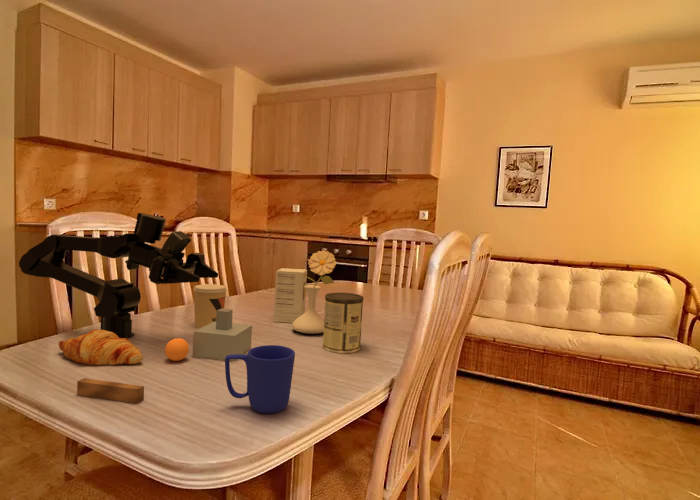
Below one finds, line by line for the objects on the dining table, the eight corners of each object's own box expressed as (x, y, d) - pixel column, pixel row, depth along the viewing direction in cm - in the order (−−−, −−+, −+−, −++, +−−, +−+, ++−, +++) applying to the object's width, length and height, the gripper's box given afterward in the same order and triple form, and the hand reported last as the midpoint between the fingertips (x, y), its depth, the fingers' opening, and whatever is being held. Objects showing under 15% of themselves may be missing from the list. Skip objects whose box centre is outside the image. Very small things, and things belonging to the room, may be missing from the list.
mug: (228, 396, 76) (230, 343, 75) (293, 397, 77) (296, 345, 76) (217, 417, 68) (220, 358, 67) (290, 418, 69) (293, 360, 68)
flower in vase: (283, 332, 120) (288, 248, 119) (302, 324, 131) (306, 247, 129) (323, 340, 115) (328, 252, 114) (339, 331, 126) (344, 250, 124)
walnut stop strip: (77, 394, 73) (77, 381, 72) (83, 391, 74) (84, 378, 74) (138, 403, 71) (138, 389, 71) (143, 399, 72) (144, 386, 72)
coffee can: (333, 339, 116) (335, 290, 116) (366, 346, 112) (369, 295, 111) (315, 348, 107) (318, 295, 106) (350, 356, 103) (353, 301, 102)
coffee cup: (214, 331, 117) (216, 290, 117) (185, 327, 119) (186, 287, 118) (230, 324, 127) (232, 285, 126) (203, 320, 128) (204, 283, 128)
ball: (159, 362, 91) (160, 340, 90) (173, 355, 95) (173, 334, 95) (180, 365, 90) (181, 342, 89) (192, 358, 95) (193, 336, 94)
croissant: (150, 376, 92) (162, 341, 95) (122, 369, 83) (136, 330, 86) (69, 363, 95) (83, 329, 99) (34, 355, 86) (51, 318, 90)
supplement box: (301, 324, 132) (304, 272, 131) (272, 322, 132) (275, 270, 131) (305, 317, 141) (307, 269, 140) (278, 315, 141) (280, 267, 140)
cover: (192, 356, 96) (194, 312, 95) (213, 344, 106) (215, 304, 105) (233, 361, 94) (235, 316, 93) (250, 348, 104) (252, 307, 103)
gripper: (137, 227, 94) (197, 248, 91) (183, 228, 112) (234, 245, 110) (125, 273, 95) (184, 295, 92) (172, 266, 113) (223, 284, 111)
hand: (208, 277), depth 101 cm, fingers open, 9 cm apart
